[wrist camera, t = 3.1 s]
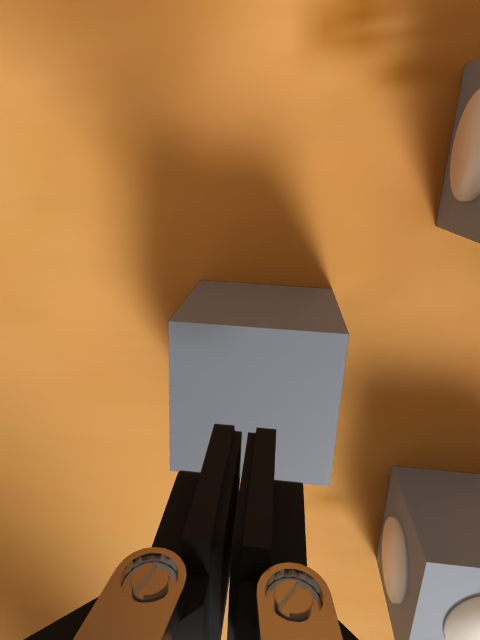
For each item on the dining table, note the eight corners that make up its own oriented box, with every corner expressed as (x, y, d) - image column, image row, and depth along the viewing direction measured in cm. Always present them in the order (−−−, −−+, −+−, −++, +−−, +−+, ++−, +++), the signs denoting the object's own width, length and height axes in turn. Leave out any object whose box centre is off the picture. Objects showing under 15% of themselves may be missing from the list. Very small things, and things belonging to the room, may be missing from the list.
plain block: (318, 405, 22) (329, 486, 17) (198, 395, 23) (169, 470, 17) (331, 288, 20) (349, 334, 15) (200, 279, 21) (168, 321, 15)
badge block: (488, 569, 24) (552, 694, 19) (371, 556, 25) (396, 673, 19) (515, 476, 22) (594, 583, 17) (387, 464, 23) (420, 564, 17)
